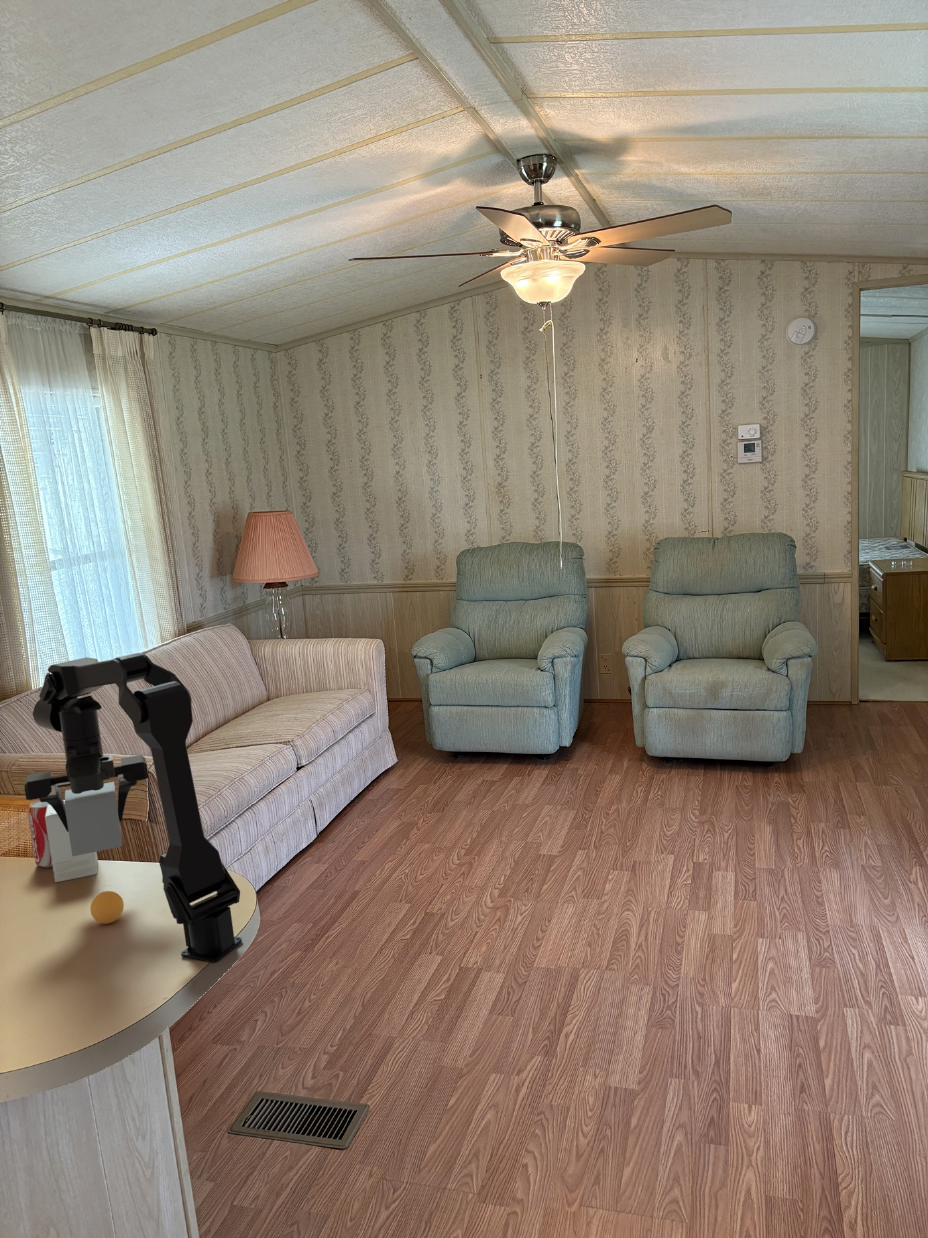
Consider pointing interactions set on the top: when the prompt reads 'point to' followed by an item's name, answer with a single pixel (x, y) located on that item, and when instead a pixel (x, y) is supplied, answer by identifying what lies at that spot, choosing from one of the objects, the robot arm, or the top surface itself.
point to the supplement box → (66, 851)
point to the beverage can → (39, 833)
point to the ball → (107, 907)
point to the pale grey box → (93, 820)
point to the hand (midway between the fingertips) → (94, 826)
